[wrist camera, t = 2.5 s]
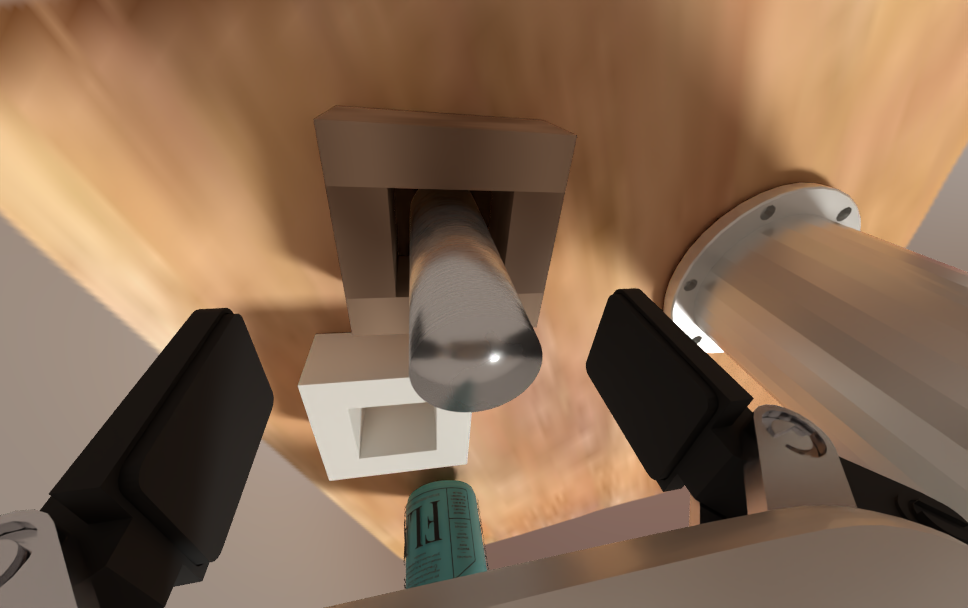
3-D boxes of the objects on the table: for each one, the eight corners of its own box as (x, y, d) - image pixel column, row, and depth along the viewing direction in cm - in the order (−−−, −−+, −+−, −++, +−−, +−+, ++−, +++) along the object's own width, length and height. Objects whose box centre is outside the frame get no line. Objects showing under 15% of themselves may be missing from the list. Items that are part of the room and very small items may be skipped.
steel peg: (478, 180, 17) (554, 312, 8) (474, 243, 19) (531, 406, 10) (408, 177, 16) (405, 318, 7) (411, 244, 18) (411, 418, 9)
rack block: (465, 327, 22) (475, 372, 19) (460, 416, 27) (466, 464, 24) (315, 334, 20) (297, 385, 17) (339, 427, 25) (329, 480, 22)
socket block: (543, 120, 16) (576, 135, 13) (517, 286, 21) (536, 327, 18) (335, 105, 14) (313, 119, 11) (362, 290, 19) (352, 336, 16)
